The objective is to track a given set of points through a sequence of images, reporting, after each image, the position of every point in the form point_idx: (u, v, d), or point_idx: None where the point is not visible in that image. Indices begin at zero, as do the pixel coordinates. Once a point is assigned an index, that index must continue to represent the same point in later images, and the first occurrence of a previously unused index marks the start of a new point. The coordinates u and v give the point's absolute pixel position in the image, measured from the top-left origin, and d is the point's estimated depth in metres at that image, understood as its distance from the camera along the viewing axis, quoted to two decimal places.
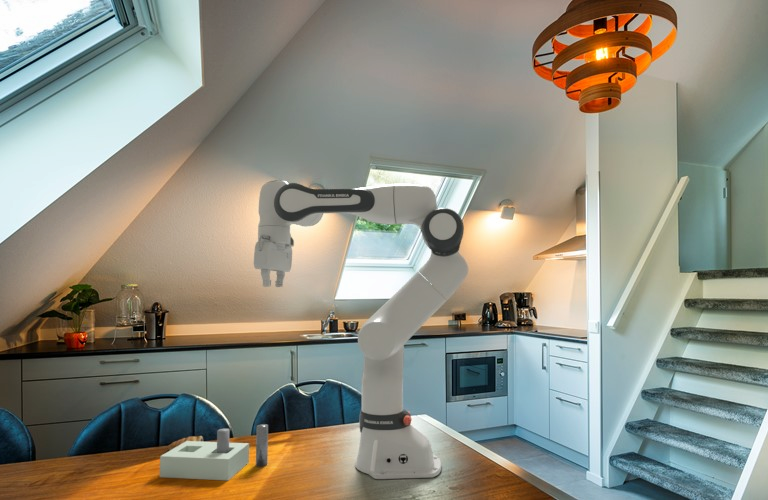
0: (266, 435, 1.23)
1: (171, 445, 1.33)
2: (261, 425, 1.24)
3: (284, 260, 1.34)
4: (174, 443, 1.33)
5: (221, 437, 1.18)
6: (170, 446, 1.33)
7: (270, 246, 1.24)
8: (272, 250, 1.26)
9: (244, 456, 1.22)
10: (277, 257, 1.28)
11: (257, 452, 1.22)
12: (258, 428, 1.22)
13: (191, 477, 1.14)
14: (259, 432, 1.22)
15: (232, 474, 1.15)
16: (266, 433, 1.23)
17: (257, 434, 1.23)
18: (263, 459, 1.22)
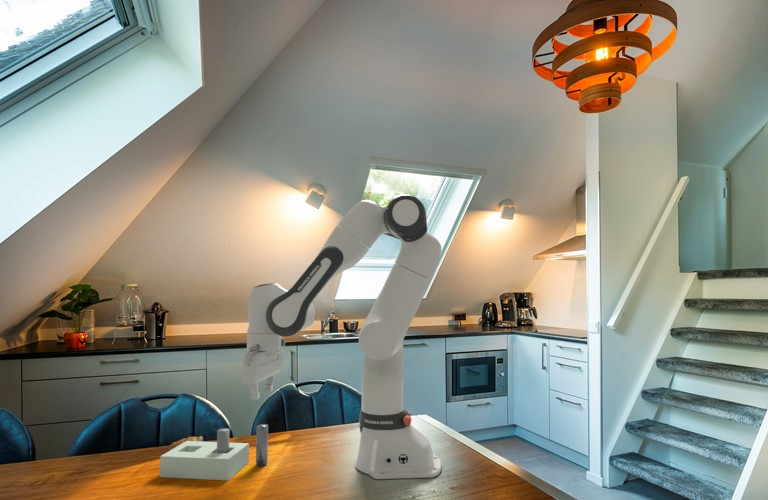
0: (266, 435, 1.23)
1: (171, 445, 1.33)
2: (261, 425, 1.24)
3: (274, 364, 1.28)
4: (174, 443, 1.33)
5: (221, 437, 1.18)
6: (170, 446, 1.32)
7: (259, 359, 1.18)
8: (261, 361, 1.20)
9: (244, 456, 1.22)
10: (266, 366, 1.23)
11: (257, 452, 1.22)
12: (258, 428, 1.22)
13: (191, 477, 1.14)
14: (259, 432, 1.22)
15: (232, 474, 1.15)
16: (266, 433, 1.23)
17: (257, 434, 1.23)
18: (263, 459, 1.22)
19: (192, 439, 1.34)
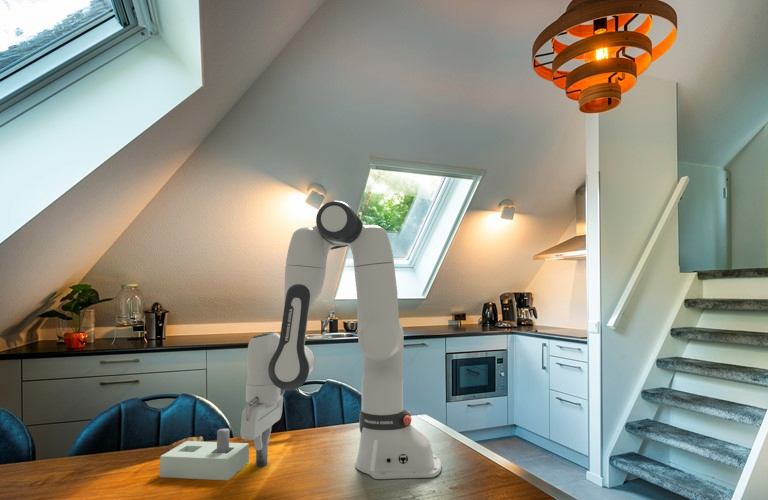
0: (266, 435, 1.23)
1: (171, 446, 1.32)
2: None
3: (273, 413, 1.27)
4: (174, 444, 1.33)
5: (221, 437, 1.18)
6: (170, 447, 1.32)
7: (258, 412, 1.17)
8: (260, 413, 1.19)
9: (244, 456, 1.22)
10: (266, 417, 1.22)
11: (257, 452, 1.22)
12: None
13: (191, 477, 1.14)
14: None
15: (232, 474, 1.15)
16: (266, 433, 1.23)
17: None
18: (263, 459, 1.22)
19: (192, 439, 1.34)
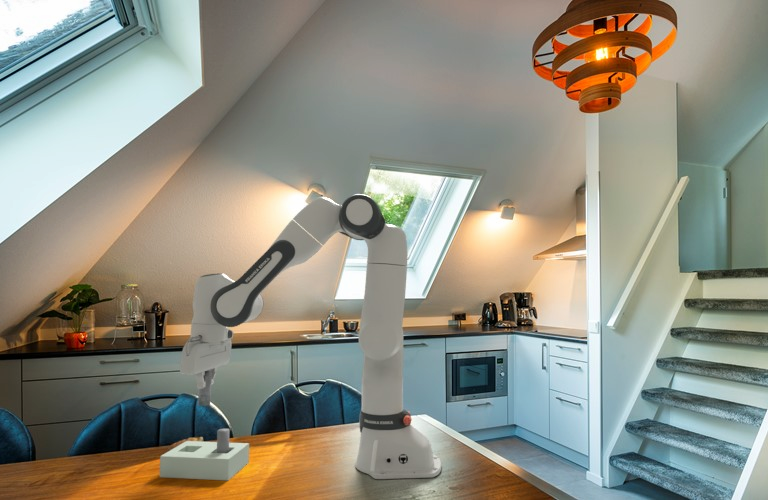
0: (209, 375, 1.22)
1: (171, 446, 1.32)
2: None
3: (219, 355, 1.27)
4: (174, 444, 1.32)
5: (221, 437, 1.18)
6: (170, 448, 1.32)
7: (200, 349, 1.16)
8: (203, 351, 1.18)
9: (244, 456, 1.22)
10: (209, 357, 1.21)
11: (199, 391, 1.21)
12: None
13: (191, 477, 1.14)
14: None
15: (232, 474, 1.15)
16: (209, 373, 1.22)
17: None
18: (205, 398, 1.21)
19: (193, 440, 1.33)
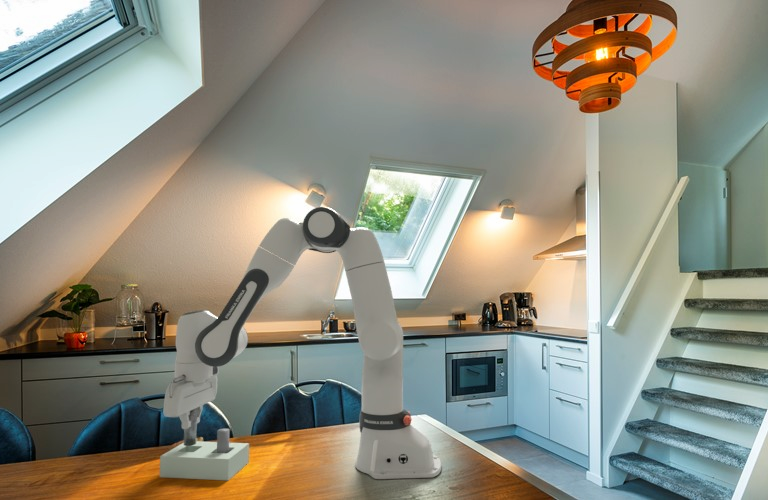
0: (195, 414, 1.21)
1: (172, 447, 1.31)
2: None
3: (205, 393, 1.25)
4: (175, 445, 1.32)
5: (221, 437, 1.18)
6: (171, 448, 1.31)
7: (183, 390, 1.15)
8: (187, 391, 1.17)
9: (244, 456, 1.22)
10: (194, 396, 1.20)
11: (185, 431, 1.20)
12: None
13: (191, 477, 1.14)
14: None
15: (232, 474, 1.15)
16: (195, 412, 1.21)
17: None
18: (191, 438, 1.20)
19: None
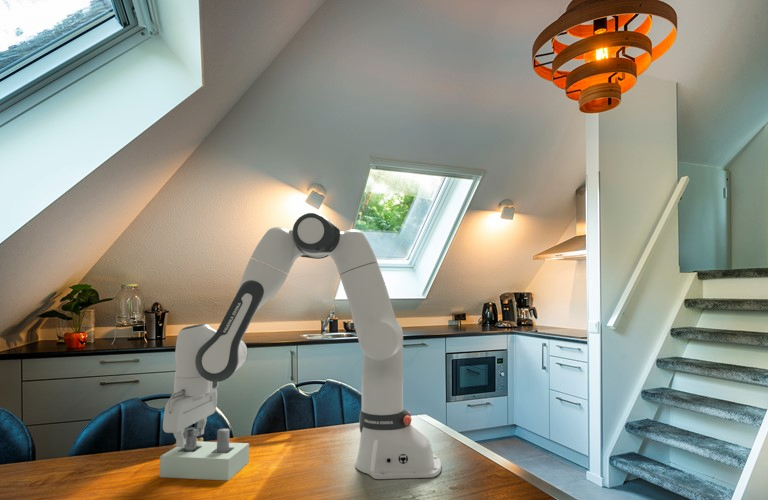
0: (194, 439, 1.20)
1: (172, 447, 1.31)
2: (190, 428, 1.21)
3: (204, 407, 1.25)
4: (175, 445, 1.32)
5: (221, 437, 1.18)
6: (171, 448, 1.31)
7: (183, 405, 1.15)
8: (186, 406, 1.16)
9: (244, 456, 1.22)
10: (194, 410, 1.19)
11: None
12: (186, 431, 1.20)
13: (191, 477, 1.14)
14: (187, 435, 1.19)
15: (232, 474, 1.15)
16: (194, 437, 1.20)
17: None
18: None
19: None
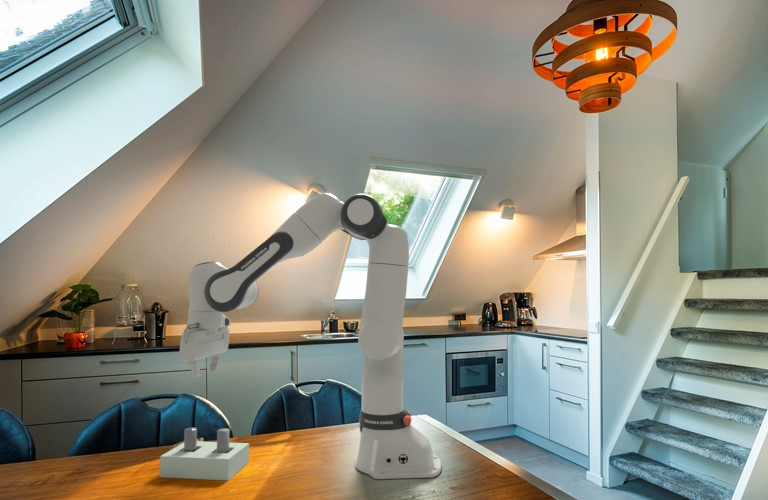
0: (194, 439, 1.20)
1: (172, 448, 1.30)
2: (190, 428, 1.21)
3: (217, 343, 1.28)
4: (175, 446, 1.31)
5: (221, 437, 1.18)
6: (171, 449, 1.30)
7: (198, 336, 1.18)
8: (201, 338, 1.20)
9: (244, 456, 1.22)
10: (208, 344, 1.23)
11: None
12: (186, 431, 1.20)
13: (191, 477, 1.14)
14: (187, 435, 1.20)
15: (232, 474, 1.15)
16: (194, 437, 1.20)
17: (185, 438, 1.20)
18: None
19: None
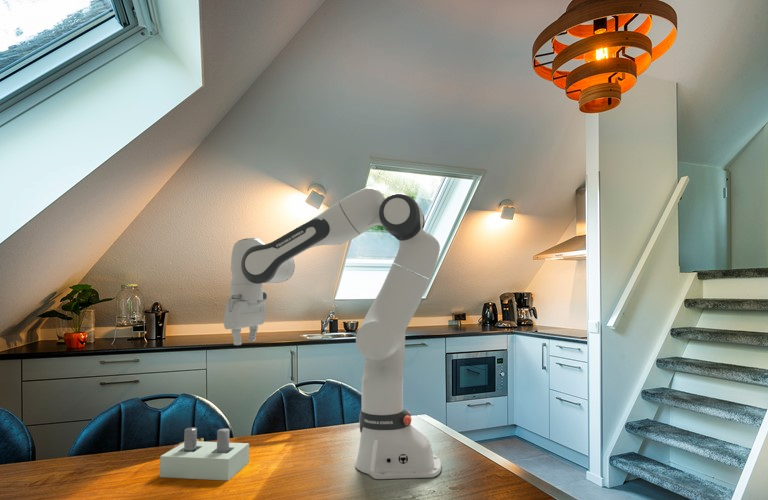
0: (194, 439, 1.20)
1: (172, 448, 1.30)
2: (190, 428, 1.21)
3: (256, 315, 1.37)
4: (175, 446, 1.31)
5: (221, 437, 1.18)
6: (171, 449, 1.30)
7: (241, 306, 1.26)
8: (243, 309, 1.28)
9: (244, 456, 1.22)
10: (248, 315, 1.31)
11: None
12: (186, 431, 1.20)
13: (191, 477, 1.14)
14: (187, 435, 1.20)
15: (232, 474, 1.15)
16: (194, 437, 1.20)
17: (185, 438, 1.20)
18: None
19: None
